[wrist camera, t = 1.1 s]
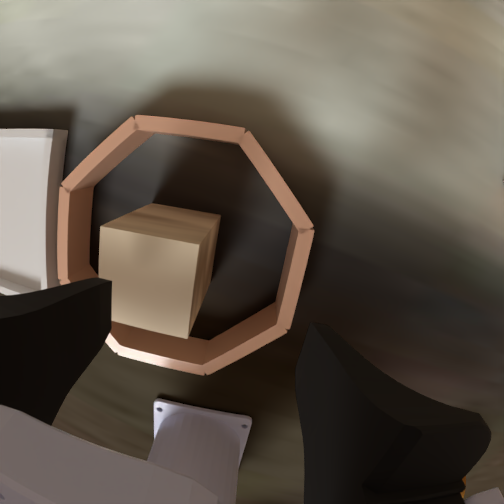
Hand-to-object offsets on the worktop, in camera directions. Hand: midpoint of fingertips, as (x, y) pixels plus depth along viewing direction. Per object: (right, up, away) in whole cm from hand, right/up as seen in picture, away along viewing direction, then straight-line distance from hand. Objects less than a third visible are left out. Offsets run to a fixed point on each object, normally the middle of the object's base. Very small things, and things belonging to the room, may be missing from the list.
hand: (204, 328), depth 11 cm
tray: (-17, +6, +9) cm, 20 cm away
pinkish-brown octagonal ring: (-3, +3, +9) cm, 10 cm away
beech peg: (-3, +3, +9) cm, 10 cm away
